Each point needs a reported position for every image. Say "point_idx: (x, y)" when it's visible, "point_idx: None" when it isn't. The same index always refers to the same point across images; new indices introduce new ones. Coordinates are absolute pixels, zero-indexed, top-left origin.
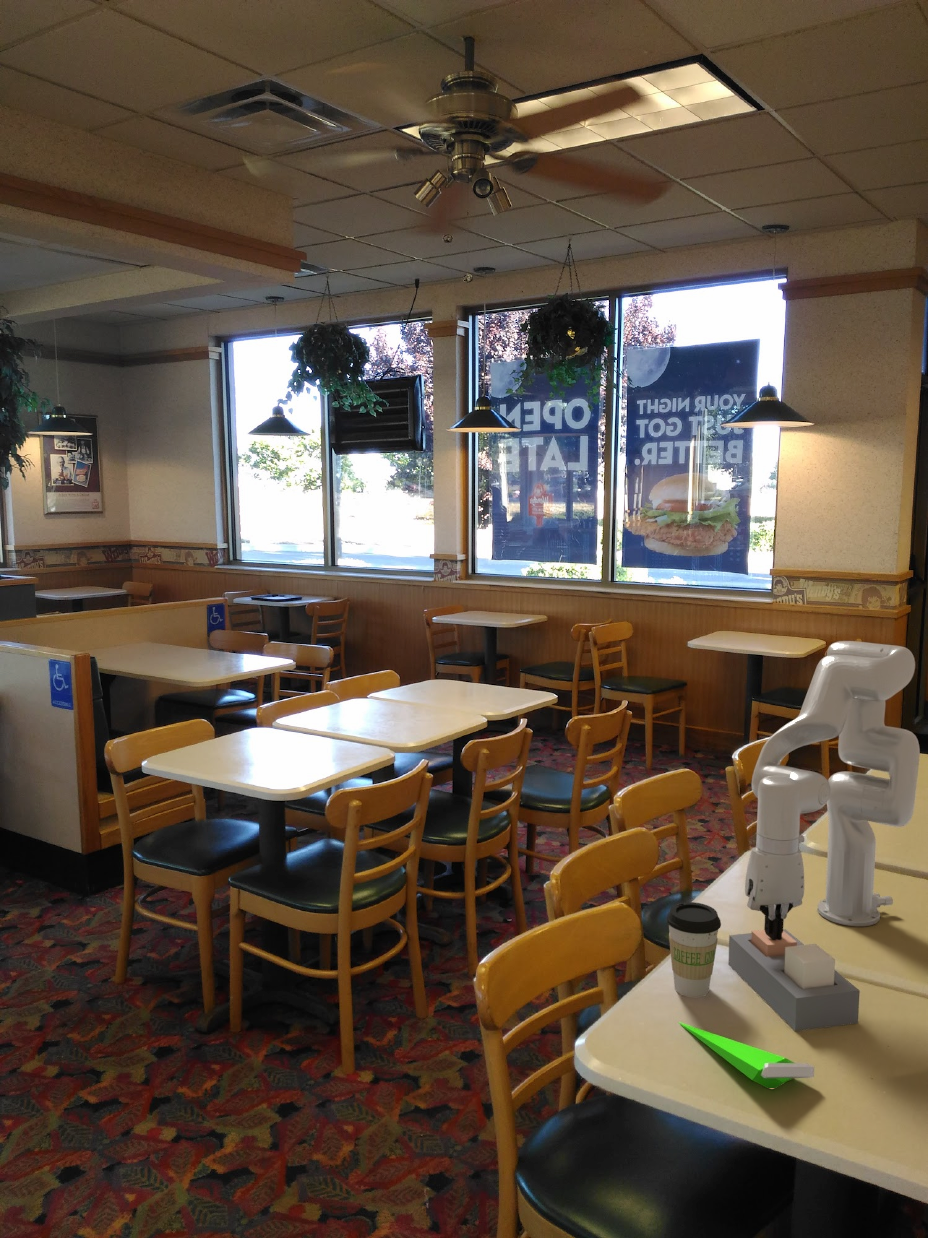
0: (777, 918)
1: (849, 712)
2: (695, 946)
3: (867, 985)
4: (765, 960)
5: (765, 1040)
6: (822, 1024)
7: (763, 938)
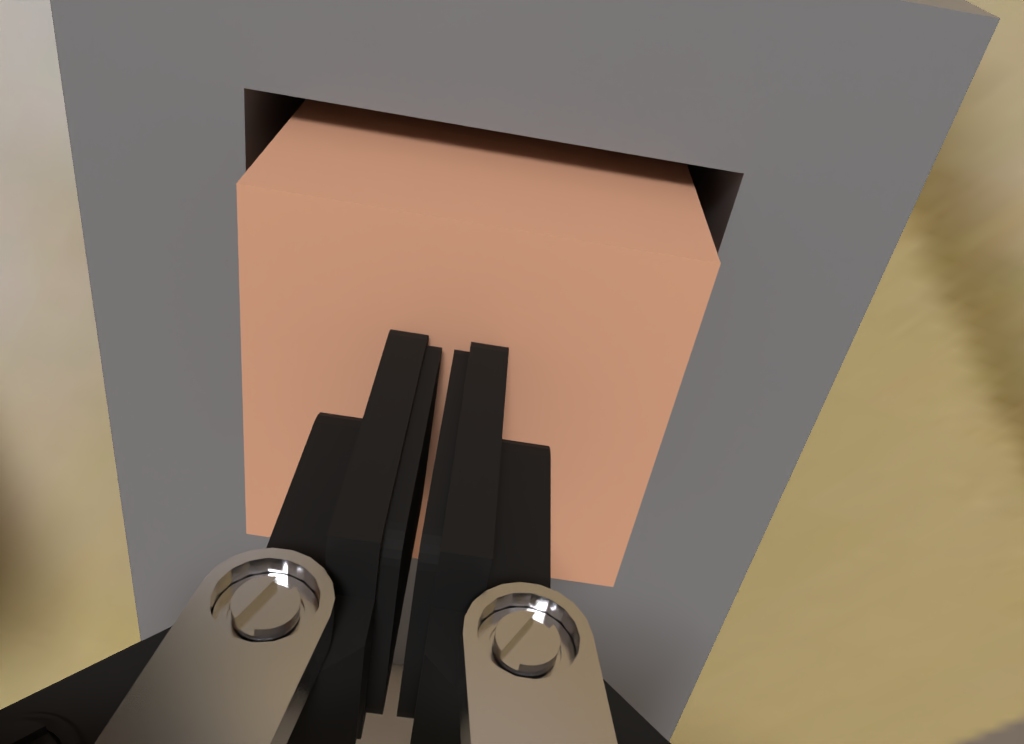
0: (416, 694)
1: None
2: None
3: (1016, 519)
4: (207, 516)
5: (55, 662)
6: None
7: (288, 408)
